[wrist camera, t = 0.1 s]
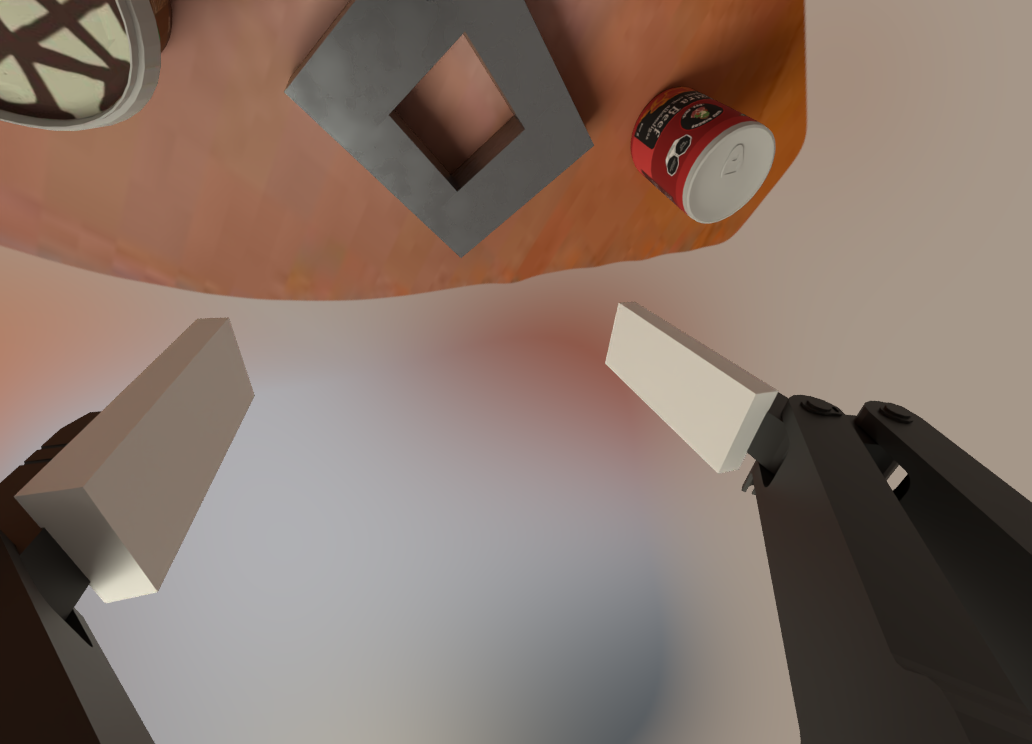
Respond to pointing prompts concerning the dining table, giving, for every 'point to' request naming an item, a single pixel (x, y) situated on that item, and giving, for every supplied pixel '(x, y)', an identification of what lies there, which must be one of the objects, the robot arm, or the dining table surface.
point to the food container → (79, 60)
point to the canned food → (701, 153)
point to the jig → (394, 73)
